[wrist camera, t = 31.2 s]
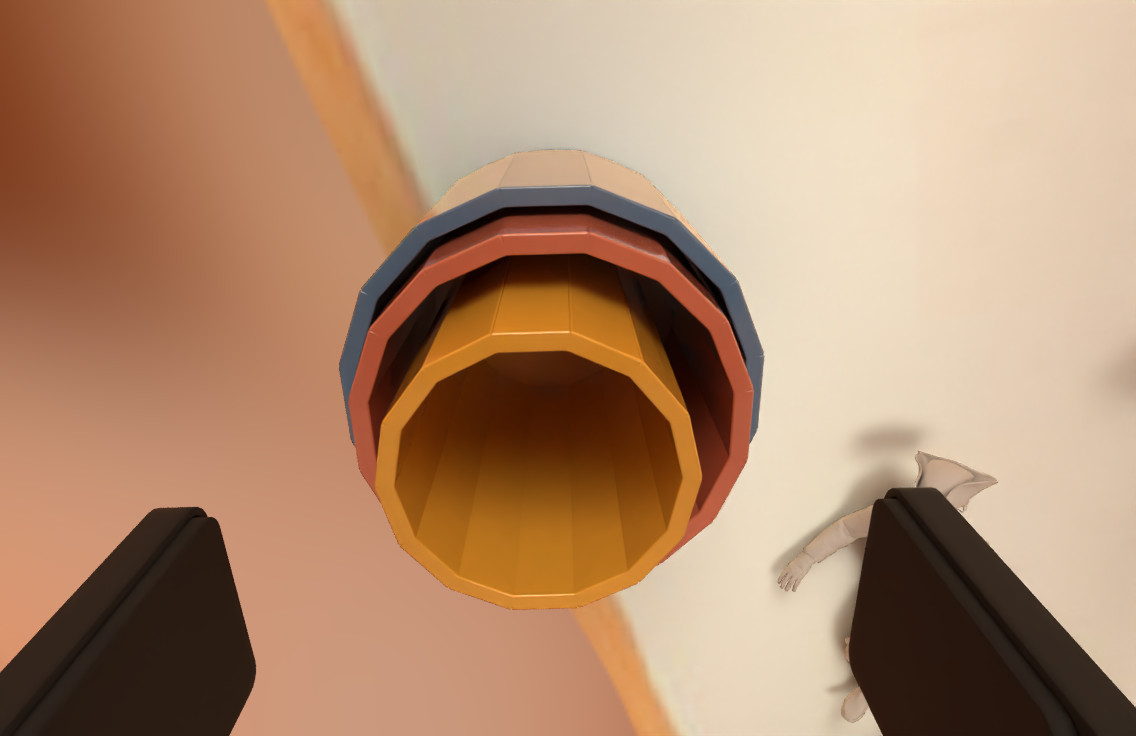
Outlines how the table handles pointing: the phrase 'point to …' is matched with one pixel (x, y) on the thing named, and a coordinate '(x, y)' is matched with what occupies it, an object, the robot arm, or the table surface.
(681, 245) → the stack lower cup
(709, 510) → the stack middle cup
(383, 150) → the table surface
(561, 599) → the ochre cup
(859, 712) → the soldier figure
